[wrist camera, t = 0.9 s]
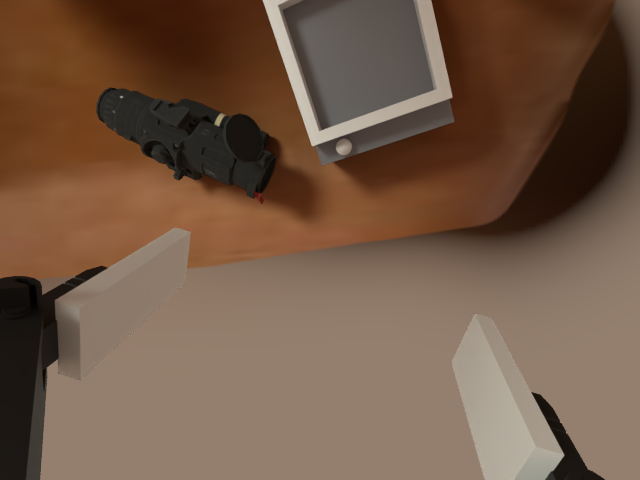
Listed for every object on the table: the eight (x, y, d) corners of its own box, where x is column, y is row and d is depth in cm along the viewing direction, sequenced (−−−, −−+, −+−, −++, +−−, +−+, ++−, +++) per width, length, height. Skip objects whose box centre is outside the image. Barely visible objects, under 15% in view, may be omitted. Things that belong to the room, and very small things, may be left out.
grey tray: (274, -8, 34) (251, -32, 28) (401, -68, 31) (407, -110, 25) (329, 158, 38) (319, 168, 32) (444, 119, 35) (458, 122, 29)
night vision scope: (145, 109, 42) (122, 28, 33) (286, 171, 42) (299, 108, 34) (102, 157, 38) (63, 80, 30) (257, 225, 39) (264, 169, 30)
